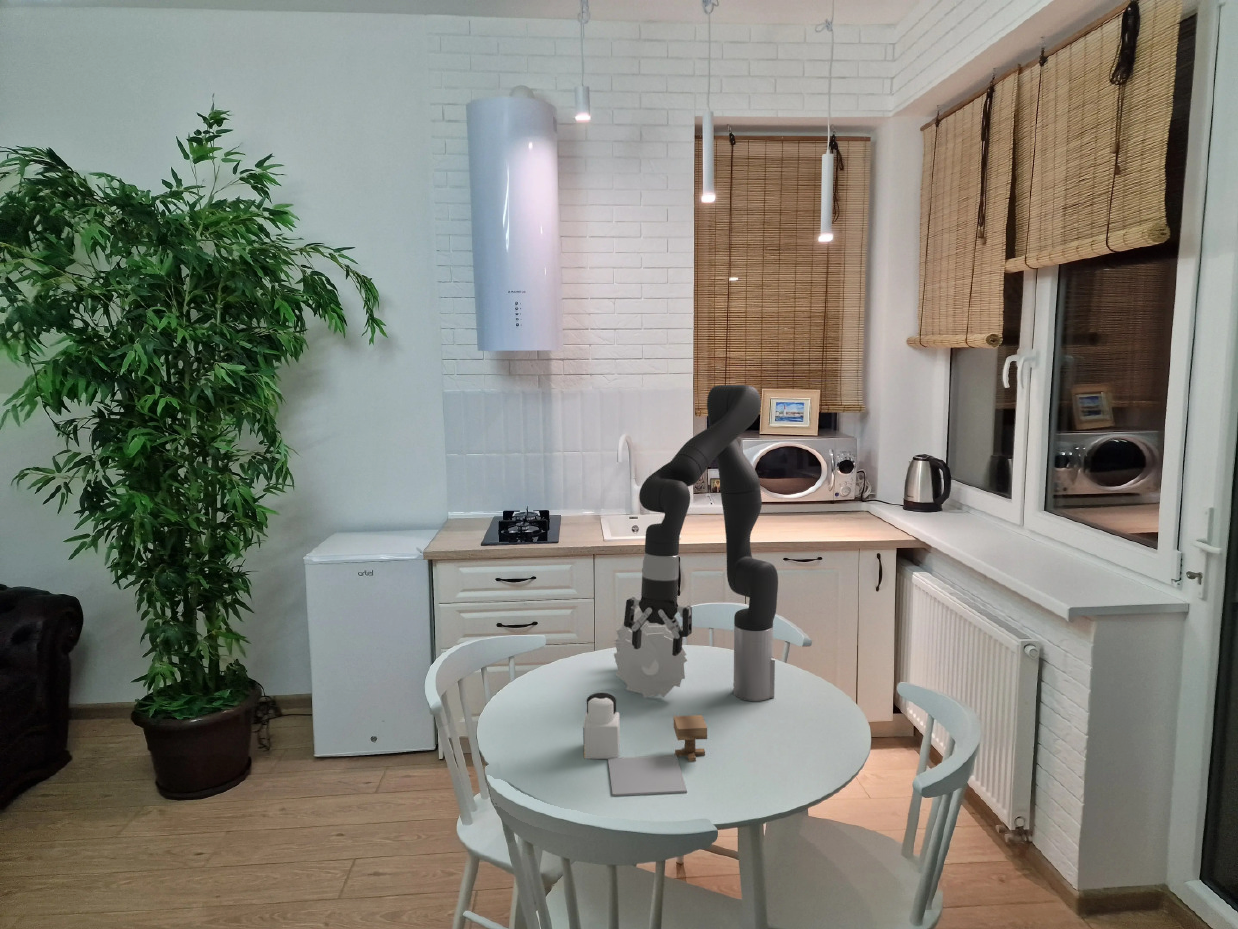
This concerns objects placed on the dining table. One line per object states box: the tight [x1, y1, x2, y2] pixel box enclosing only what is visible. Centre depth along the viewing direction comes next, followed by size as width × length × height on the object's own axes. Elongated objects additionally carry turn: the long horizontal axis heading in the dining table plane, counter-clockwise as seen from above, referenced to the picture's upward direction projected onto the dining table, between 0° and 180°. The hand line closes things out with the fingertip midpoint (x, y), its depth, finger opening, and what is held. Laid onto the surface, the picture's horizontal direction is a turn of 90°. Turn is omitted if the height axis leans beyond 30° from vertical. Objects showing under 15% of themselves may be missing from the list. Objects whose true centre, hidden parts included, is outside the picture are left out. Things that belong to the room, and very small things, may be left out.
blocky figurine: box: [582, 692, 621, 760], centre depth 173 cm, size 7×7×12 cm
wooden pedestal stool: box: [673, 714, 708, 762], centre depth 172 cm, size 6×6×7 cm
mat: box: [607, 754, 688, 797], centre depth 163 cm, size 14×14×1 cm
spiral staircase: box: [613, 608, 688, 699], centre depth 208 cm, size 18×18×25 cm
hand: (656, 651), depth 174 cm, fingers open, 8 cm apart
